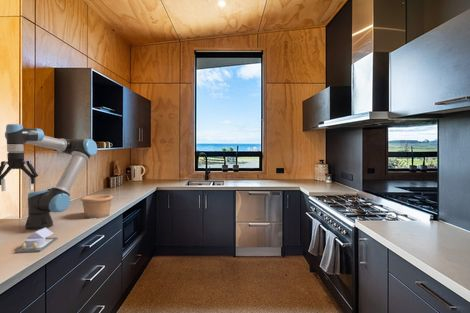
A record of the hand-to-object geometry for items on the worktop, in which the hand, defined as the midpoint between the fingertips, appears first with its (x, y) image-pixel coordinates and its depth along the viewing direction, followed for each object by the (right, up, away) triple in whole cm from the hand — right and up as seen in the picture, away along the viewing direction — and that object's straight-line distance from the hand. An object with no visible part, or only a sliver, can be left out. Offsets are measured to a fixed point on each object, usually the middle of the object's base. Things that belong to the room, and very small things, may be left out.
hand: (17, 190), depth 170 cm
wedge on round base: (+18, -27, -11) cm, 34 cm away
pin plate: (+18, -28, -11) cm, 35 cm away
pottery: (+19, -26, +57) cm, 65 cm away
